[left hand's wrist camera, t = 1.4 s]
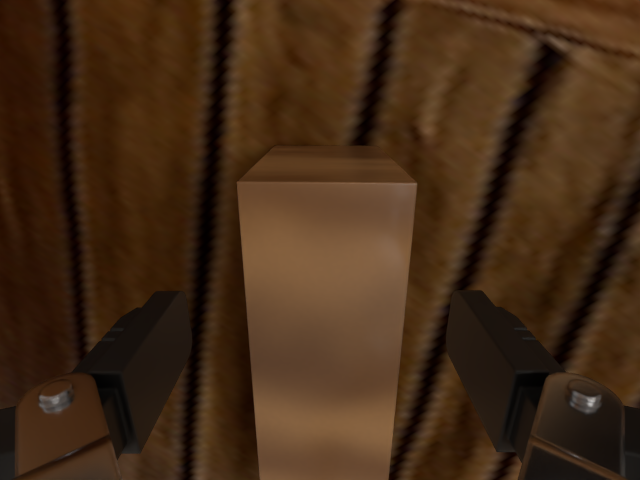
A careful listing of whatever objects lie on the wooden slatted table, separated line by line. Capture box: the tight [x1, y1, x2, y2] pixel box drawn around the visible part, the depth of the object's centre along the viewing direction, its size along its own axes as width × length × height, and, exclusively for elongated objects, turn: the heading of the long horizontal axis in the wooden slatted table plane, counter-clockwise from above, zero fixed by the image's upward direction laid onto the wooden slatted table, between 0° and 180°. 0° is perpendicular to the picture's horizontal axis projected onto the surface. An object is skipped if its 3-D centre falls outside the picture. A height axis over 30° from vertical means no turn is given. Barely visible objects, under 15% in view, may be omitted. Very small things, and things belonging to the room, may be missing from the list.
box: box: [237, 145, 417, 480], centre depth 22 cm, size 26×6×10 cm, turn 0°
